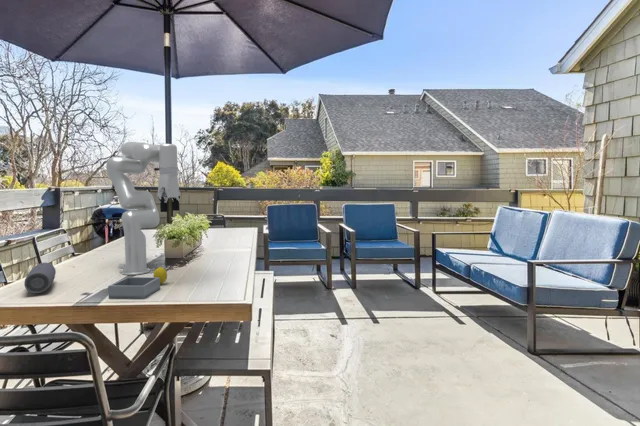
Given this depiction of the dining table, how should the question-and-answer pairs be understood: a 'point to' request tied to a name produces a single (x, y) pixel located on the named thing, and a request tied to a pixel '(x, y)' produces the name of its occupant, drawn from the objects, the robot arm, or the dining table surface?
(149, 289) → the grey shallow tray
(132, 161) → the robot arm
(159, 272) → the lemon
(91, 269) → the dining table surface
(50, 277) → the bluetooth speaker
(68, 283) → the dining table surface
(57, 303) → the dining table surface
